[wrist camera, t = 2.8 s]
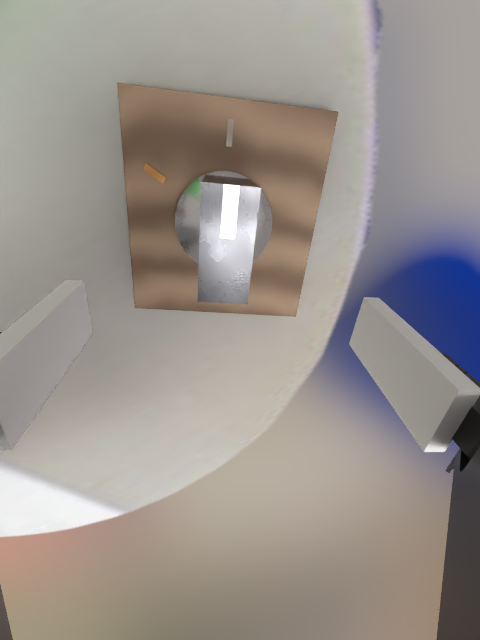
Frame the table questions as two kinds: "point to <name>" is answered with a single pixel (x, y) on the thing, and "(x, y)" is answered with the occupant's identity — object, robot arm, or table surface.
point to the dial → (223, 233)
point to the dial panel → (220, 155)
